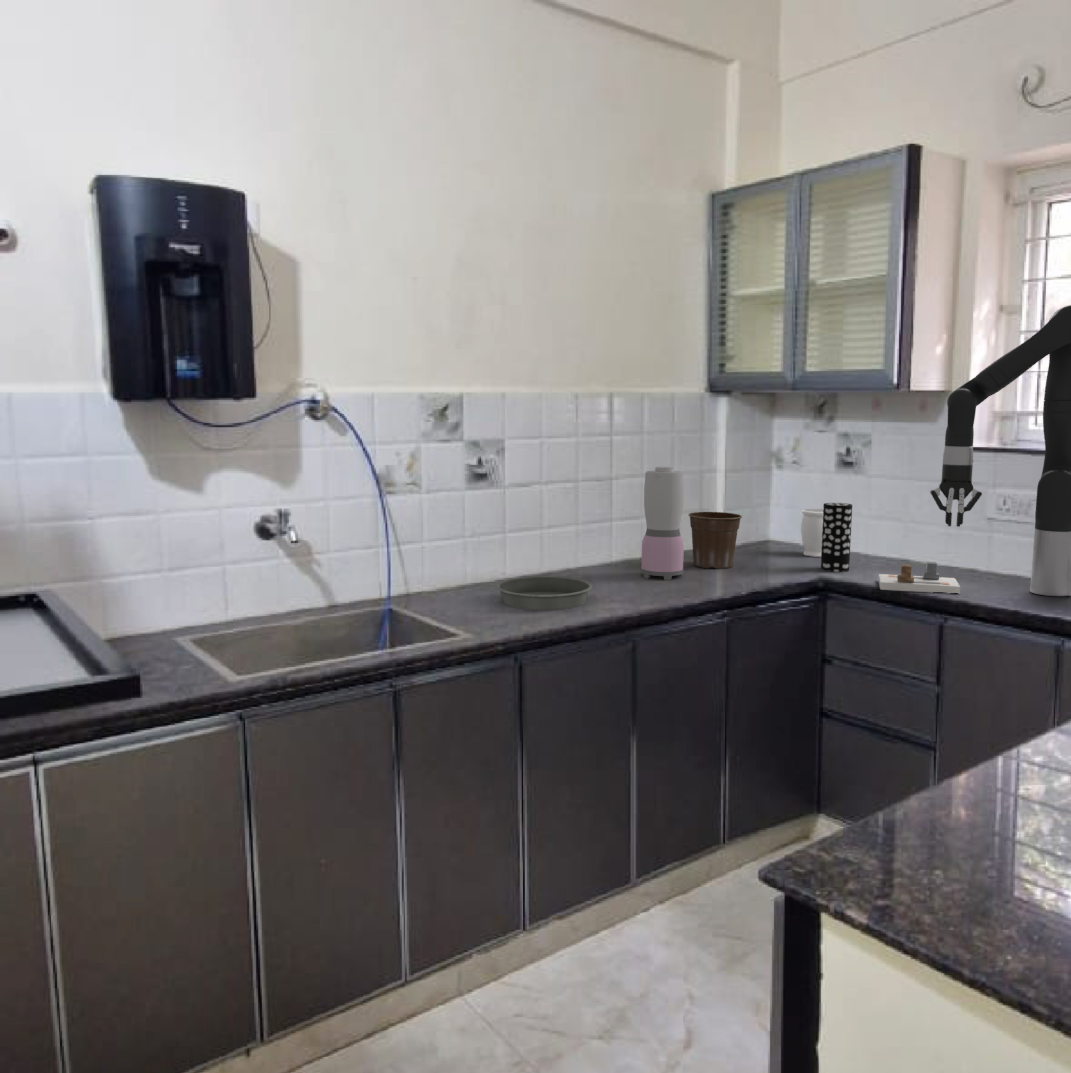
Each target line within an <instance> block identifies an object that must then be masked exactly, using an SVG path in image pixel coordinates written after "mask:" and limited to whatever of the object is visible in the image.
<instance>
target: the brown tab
mask: <svg viewBox="0 0 1071 1073" xmlns="http://www.w3.org/2000/svg"><path fill="white" fill-rule="evenodd" d="M897 575H898V576H897V580H898V581H900V582H914V577H913V576H914V575H912V564H901V565H900V574H897Z"/></svg>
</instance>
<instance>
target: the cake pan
mask: <svg viewBox="0 0 1071 1073" xmlns="http://www.w3.org/2000/svg"><path fill="white" fill-rule="evenodd" d="M592 588H593V585H592V584H591V583H590V582H588V581H586V580H582V579H579V578H573V577H567V576H566V577H565V576H553V575H552V576H551V575H548V576H545V575H544V576H543V575H542V576H541V575H539V576H538V575H536V576H524V577H523V576H521V577H515V578H509V579H506V580H502V581H500V582H498V583H497V584H496V589H497V590H498V591H499V592H500V595H501V598H502V602H503V604H505V605H507V606H509V607H512V608H515V609H516V608H517V609H523V610H531V611H532V610H533V611H554V610H555V611H556V610H566V609H573V608H577V607H580V606H582V605H585V603H586V602H587V597H588V593H589V591H591V590H592Z"/></svg>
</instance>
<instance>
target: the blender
mask: <svg viewBox="0 0 1071 1073" xmlns="http://www.w3.org/2000/svg"><path fill="white" fill-rule="evenodd" d="M644 475H645V476H644V487H643V508H644V516H645V522H646V523H645V524H646V531H645V534H644V536H643V538H642V540H641V567H640V572H641V574H643V578H644V579H647V580H649V579H650V578H651V576H656V577H657V576H658V577H663V580H664V581H671V580H672V577H673V576H680V577H681V576H682V575H683V574H684V553H685V552H684V545H685V544H684V540H683V538H682V535H681V532H680V531H681V530H680V527H681V522H682V515H683V510H684V492H685V490H684V489H685V488H684V472H683V471H681V470H674V467H673V466H664V465H663V466H662V465H661V466H655V467H654V470H646V472H644Z"/></svg>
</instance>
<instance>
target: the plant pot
mask: <svg viewBox="0 0 1071 1073" xmlns="http://www.w3.org/2000/svg"><path fill="white" fill-rule="evenodd" d="M688 516H689V524H690V528H691V542H692V561H693V562H692V564H693V566H695V567H697V568H702V569H710V568H714V569H715V570H720V569H721V570H725V569H731V568H733V566H734V559H735V552H736V544H737V536H738V530H739V529H740V522H741V519H742V517H743V515H741V514H738V513H734V512H733V513H732V512H725V511H696V512H690V513H688Z"/></svg>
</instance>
